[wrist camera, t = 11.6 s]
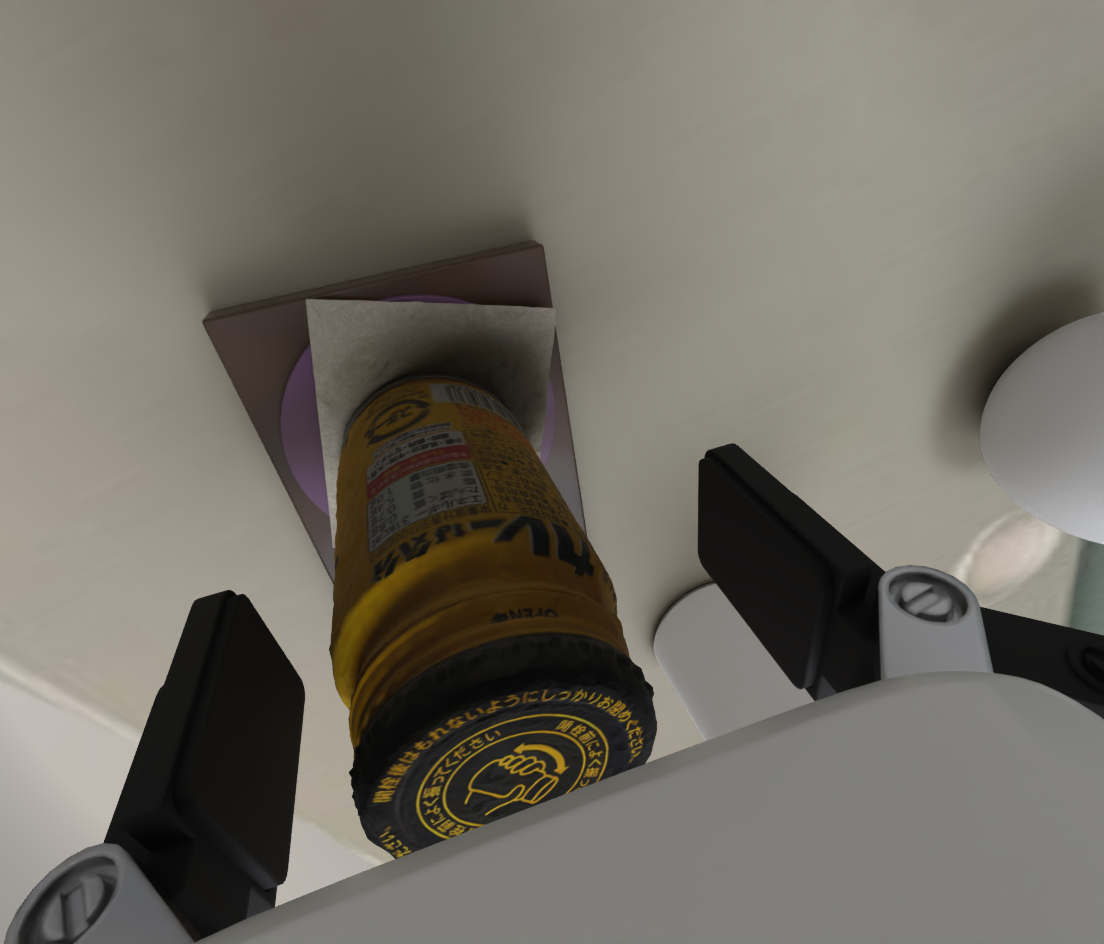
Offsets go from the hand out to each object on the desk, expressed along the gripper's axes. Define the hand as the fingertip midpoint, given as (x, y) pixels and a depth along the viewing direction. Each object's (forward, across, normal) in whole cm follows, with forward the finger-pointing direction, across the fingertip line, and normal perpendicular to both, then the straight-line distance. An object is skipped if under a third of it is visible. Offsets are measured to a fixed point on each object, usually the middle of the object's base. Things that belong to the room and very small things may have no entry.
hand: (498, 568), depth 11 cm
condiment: (+8, +1, +1) cm, 9 cm away
